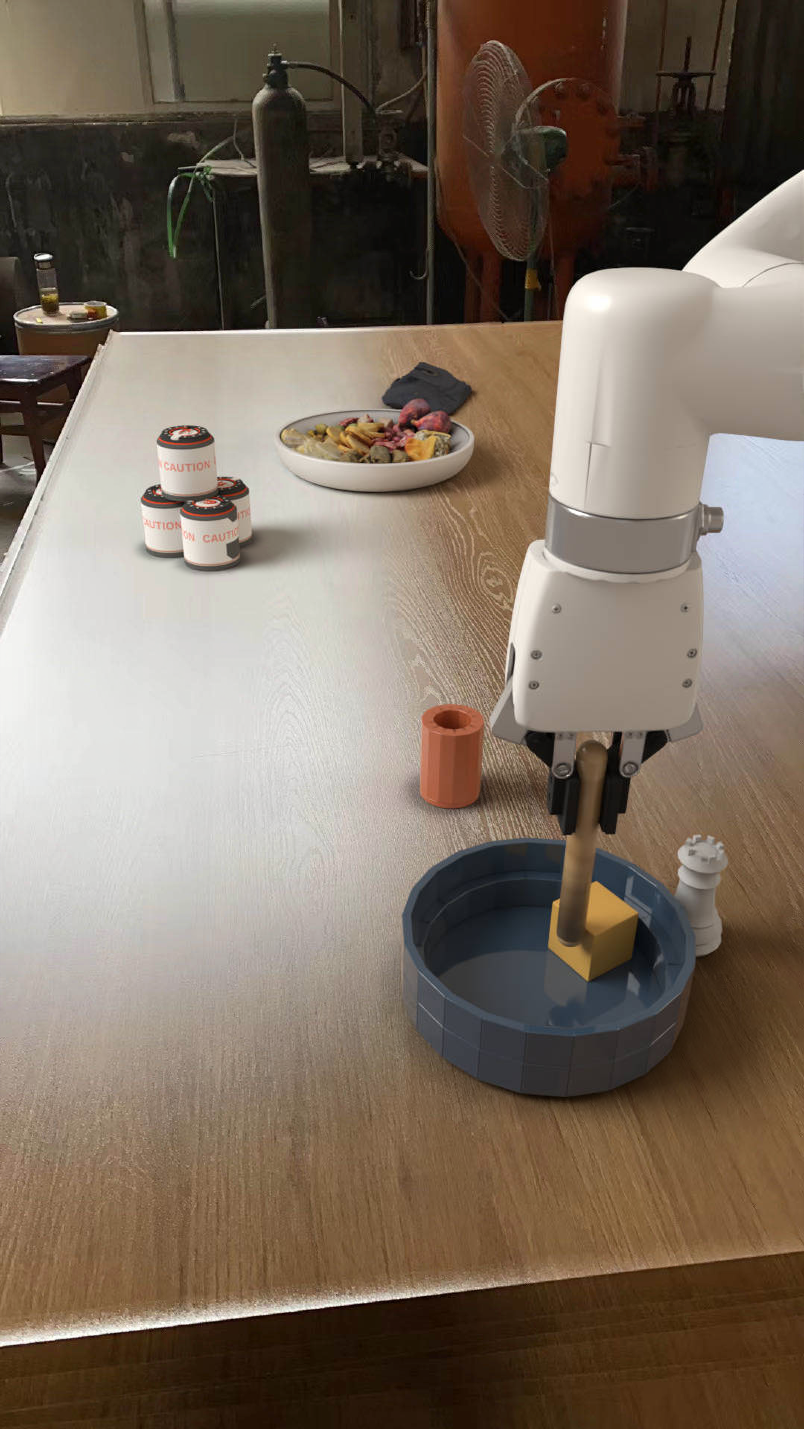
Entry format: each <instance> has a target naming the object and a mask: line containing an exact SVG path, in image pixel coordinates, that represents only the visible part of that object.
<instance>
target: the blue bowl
mask: <svg viewBox="0 0 804 1429" xmlns="http://www.w3.org/2000/svg"><path fill="white" fill-rule="evenodd" d="M566 841H567V839H555V838H539V837H527V836H526V837H518V838H516V837H515V838H508V839H507V838H506V839H500V840H499V839H498V840H491V841H486V842H483V843H480V844H477V845H474V846H473V845H472V846H470V847H467V848H463V849H460V850H458V851H456V852H454V853H452V854H451V855H449V856H448V857H445V858H443V860H440V861H439V862H438V863H436V864H434V865H432V866H431V867H430V868H429V869H427V871H426V872H425V873H423V875H422V876H421V877H420V878H419V880H418V881H417V882H416V883H415V884H414V885H413V886H412V887H411V888H410V891H409V894H408V897H407V900H406V902H405V905H404V908H403V911H402V913H401V934H400V935H401V940H400V944H401V945H400V949H401V950H400V982H401V996H402V997H401V999H402V1003H403V1005H404V1007H405V1009H406V1011H407V1013H408V1015H409V1017H410V1018H409V1019H411V1022H412V1024H413V1027H414V1028H415V1030H416V1031H417V1033H418V1034H419V1035H420V1036H421V1037H422V1038H423V1039H424V1040H425V1041H426V1042H427V1044H429V1045H430V1046H431V1048H432V1049H434V1051H436V1053H437V1054H438V1055H439V1056H440V1057H441V1058H443V1059H444V1060H446V1061H447V1062H448V1063H450V1064H452V1065H453V1066H456V1067H457V1068H459V1069H460V1070H462V1071H463V1072H465V1073H467V1074H469V1075H470V1076H472V1077H474V1078H475V1079H476V1080H478V1081H480V1082H484V1083H487V1084H490V1085H493V1086H496V1087H500V1088H503V1089H506V1090H509V1091H512V1092H515V1093H519V1094H524V1095H536V1096H537V1095H538V1096H547V1097H548V1096H549V1097H561V1098H570V1097H576V1096H583V1095H589V1094H596V1093H597V1094H598V1093H603V1092H608V1091H611V1090H613V1089H616V1088H618V1087H621V1086H623V1085H625V1084H627V1083H629V1082H632V1081H634V1080H637V1079H638V1078H640V1077H642V1076H643V1077H644V1075H647V1074H648V1073H649V1072H650V1071H651V1070H652V1069H653V1068H655V1066H656V1065H658V1064H659V1063H660V1062H661V1061H662V1060H663V1059H664V1058H665V1057H667V1055H668V1054H670V1053H671V1051H672V1049H673V1047H674V1045H675V1043H676V1041H677V1039H678V1036H679V1035H680V1033H681V1031H682V1028H683V1026H684V1024H685V1019H686V1013H687V1009H688V1005H689V1001H690V1000H689V999H690V994H691V989H692V985H693V979H694V974H695V969H696V960H697V957H696V937H695V933H694V931H693V929H692V926H691V924H690V921H689V919H688V916H687V914H686V912H685V909H684V908H683V906H682V905H681V904H680V903H679V902H678V901H677V899H676V898H675V897H674V894H673V893H672V892H671V891H670V890H669V889H668V888H667V886H665V884H663V883H662V881H661V880H658V879H657V878H656V877H654V876H652V874H650V873H648V872H647V871H646V870H644V869H643V868H641V867H640V866H639V865H637V864H636V863H634V862H632V861H630V860H627V859H625V858H622V857H621V856H618V855H616V854H613V853H611V852H609V851H607V850H604V849H603V848H602V849H601V848H599V847H596V852H595V859H594V867H593V875H592V882H591V883H594V882H596V881H597V882H599V883H600V884H601V885H603V886H604V887H605V888H607V889H608V890H609V891H611V892H612V893H613V894H614V895H616V896H617V897H618V898H620V899H621V900H622V901H624V902H625V903H626V904H628V905H629V906H630V907H632V908H633V909H634V910H636V911H637V912H638V913H639V915H638V921H637V927H636V933H635V940H634V946H633V952H632V958H631V959H630V960H628V961H626V962H624V963H622V964H620V965H618V966H617V967H615V968H613V969H611V970H609V971H607V972H605V973H604V974H602V975H600V976H598V977H596V978H594V979H593V980H591V981H589V982H588V981H586V980H585V979H584V978H583V977H582V976H581V975H580V974H578V973H577V972H576V971H575V970H574V969H573V968H571V967H570V966H569V965H568V964H567V963H566V962H564V961H563V960H562V959H561V958H560V957H559V956H557V955H556V954H555V953H554V952H553V951H552V950H551V949H549V948H548V942H549V933H550V924H551V914H552V905H553V902H554V901H556V900H558V899H560V894H561V885H562V876H563V867H564V858H565V849H566Z"/></svg>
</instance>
